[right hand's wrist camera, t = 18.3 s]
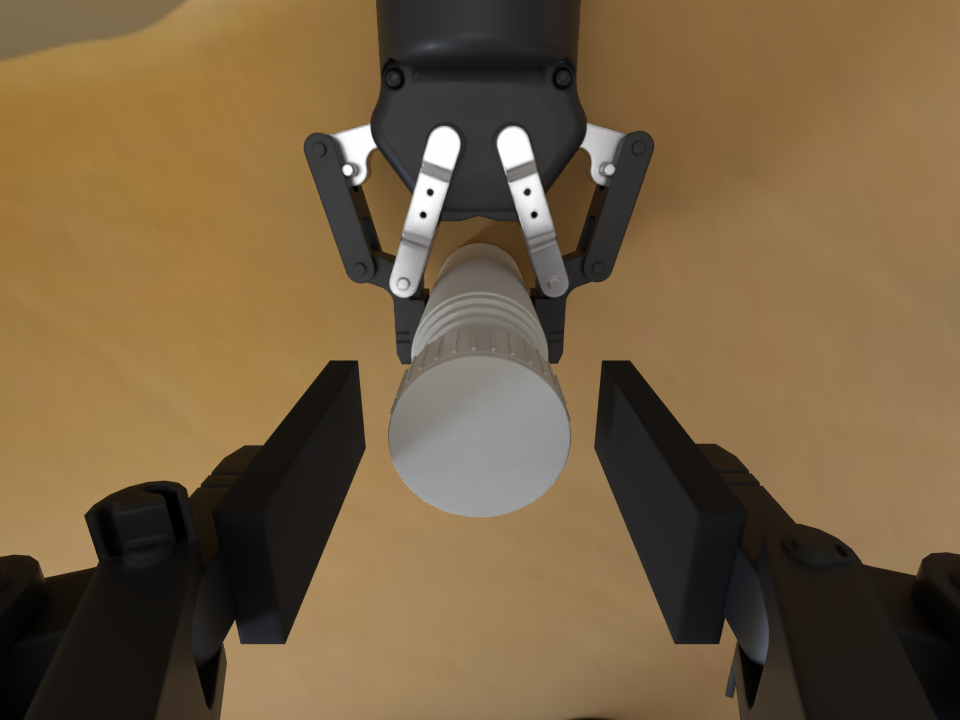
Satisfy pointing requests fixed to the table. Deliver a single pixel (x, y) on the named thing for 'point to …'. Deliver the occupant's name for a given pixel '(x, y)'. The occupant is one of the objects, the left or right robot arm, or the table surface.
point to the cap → (479, 424)
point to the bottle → (479, 298)
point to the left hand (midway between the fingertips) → (479, 368)
